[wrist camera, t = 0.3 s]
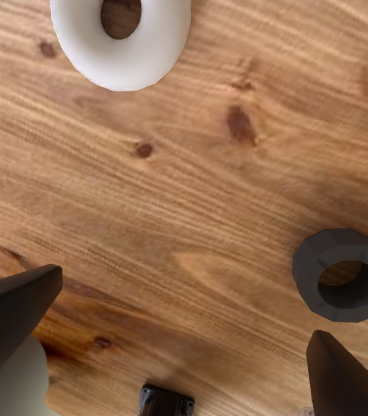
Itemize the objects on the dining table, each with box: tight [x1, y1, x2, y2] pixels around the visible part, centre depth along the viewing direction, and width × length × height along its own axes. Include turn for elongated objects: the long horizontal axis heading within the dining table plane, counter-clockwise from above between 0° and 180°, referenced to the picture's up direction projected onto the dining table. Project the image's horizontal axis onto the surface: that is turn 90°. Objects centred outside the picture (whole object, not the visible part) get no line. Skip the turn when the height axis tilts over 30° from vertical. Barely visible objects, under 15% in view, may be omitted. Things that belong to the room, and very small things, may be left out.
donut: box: [49, 0, 191, 91], centre depth 18 cm, size 10×3×10 cm
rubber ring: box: [293, 229, 368, 323], centre depth 21 cm, size 7×7×3 cm
